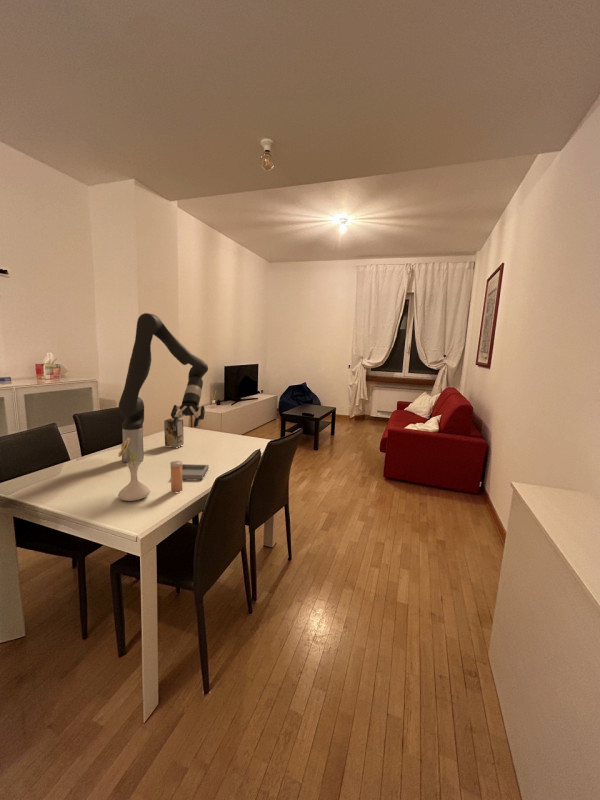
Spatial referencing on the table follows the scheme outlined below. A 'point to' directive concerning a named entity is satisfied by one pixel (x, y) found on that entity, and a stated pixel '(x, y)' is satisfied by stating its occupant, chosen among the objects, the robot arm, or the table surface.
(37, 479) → the table surface
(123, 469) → the table surface
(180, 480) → the shaker
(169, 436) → the coffee box
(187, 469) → the tray
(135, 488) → the flower in vase
